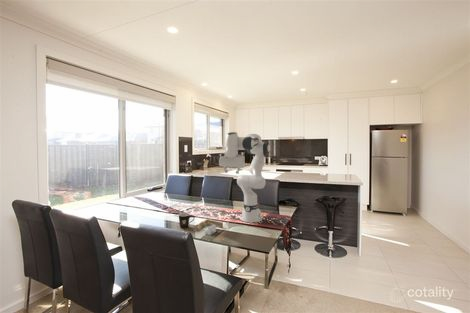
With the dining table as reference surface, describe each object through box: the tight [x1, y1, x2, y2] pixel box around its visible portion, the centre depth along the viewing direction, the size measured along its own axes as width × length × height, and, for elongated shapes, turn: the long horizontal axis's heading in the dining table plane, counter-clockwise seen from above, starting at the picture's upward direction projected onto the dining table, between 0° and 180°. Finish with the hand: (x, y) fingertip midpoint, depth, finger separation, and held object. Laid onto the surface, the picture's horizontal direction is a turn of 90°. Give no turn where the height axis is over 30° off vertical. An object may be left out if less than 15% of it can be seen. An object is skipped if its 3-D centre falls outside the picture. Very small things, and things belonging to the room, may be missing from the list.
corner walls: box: [193, 218, 224, 232], centre depth 182 cm, size 17×16×4 cm
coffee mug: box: [178, 212, 195, 229], centre depth 186 cm, size 12×9×10 cm
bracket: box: [204, 224, 217, 236], centre depth 175 cm, size 7×5×6 cm
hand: (231, 173), depth 173 cm, fingers open, 8 cm apart
